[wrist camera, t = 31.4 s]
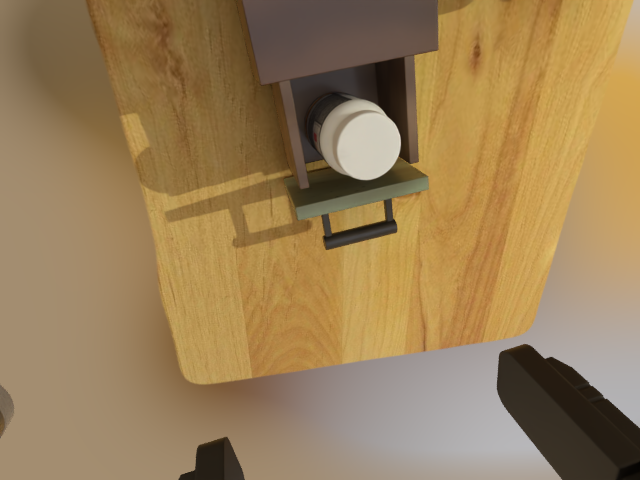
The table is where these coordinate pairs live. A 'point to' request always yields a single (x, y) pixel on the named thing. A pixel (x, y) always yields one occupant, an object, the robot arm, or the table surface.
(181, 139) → the table surface
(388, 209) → the drawer
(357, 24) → the cabinet
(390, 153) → the pill bottle
